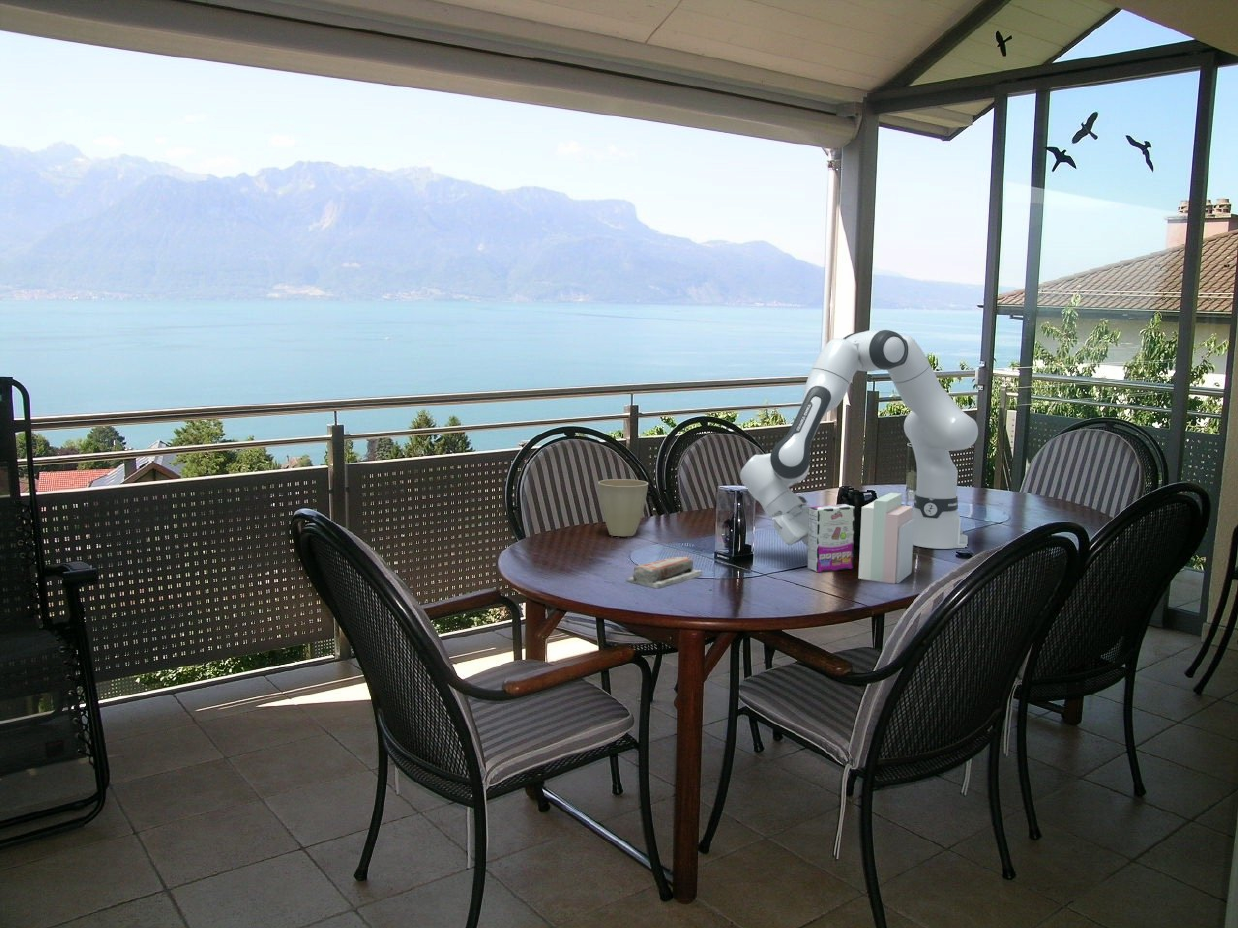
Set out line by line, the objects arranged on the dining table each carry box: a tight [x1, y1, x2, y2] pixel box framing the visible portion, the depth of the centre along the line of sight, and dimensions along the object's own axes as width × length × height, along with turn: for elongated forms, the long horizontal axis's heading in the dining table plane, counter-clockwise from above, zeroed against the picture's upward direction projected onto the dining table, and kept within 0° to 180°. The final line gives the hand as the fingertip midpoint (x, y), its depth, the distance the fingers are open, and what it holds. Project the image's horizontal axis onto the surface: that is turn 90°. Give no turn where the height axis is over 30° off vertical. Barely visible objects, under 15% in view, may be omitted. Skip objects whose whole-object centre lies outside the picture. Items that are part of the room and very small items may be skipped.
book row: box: [857, 492, 914, 585], centre depth 242 cm, size 14×10×20 cm
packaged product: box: [625, 556, 703, 589], centre depth 238 cm, size 18×5×10 cm
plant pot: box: [597, 478, 649, 537], centre depth 287 cm, size 15×15×16 cm
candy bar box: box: [807, 503, 856, 573], centre depth 248 cm, size 11×5×16 cm, turn 112°
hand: (818, 549), depth 252 cm, fingers closed
